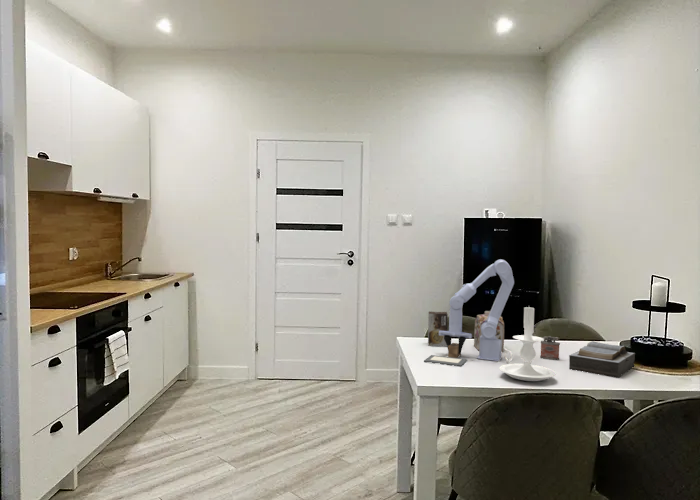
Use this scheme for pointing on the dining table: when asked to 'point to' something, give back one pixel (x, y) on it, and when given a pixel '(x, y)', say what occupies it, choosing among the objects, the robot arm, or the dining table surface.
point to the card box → (453, 350)
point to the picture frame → (446, 360)
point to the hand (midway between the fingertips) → (454, 352)
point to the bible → (602, 359)
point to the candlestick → (527, 354)
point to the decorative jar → (477, 333)
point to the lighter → (550, 348)
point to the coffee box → (437, 328)
